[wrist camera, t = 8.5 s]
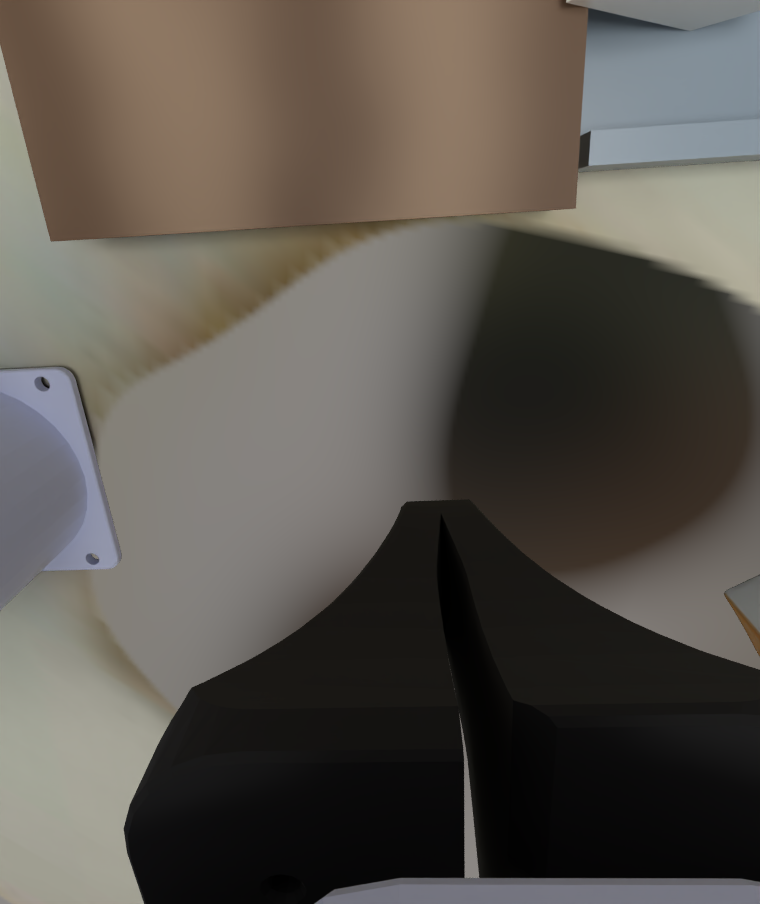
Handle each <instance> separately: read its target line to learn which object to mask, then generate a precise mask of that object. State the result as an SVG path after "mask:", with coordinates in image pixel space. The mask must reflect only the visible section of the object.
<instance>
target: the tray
mask: <svg viewBox="0 0 760 904" xmlns="http://www.w3.org/2000/svg"><path fill="white" fill-rule="evenodd" d="M755 160H760V11H757V12H753V13H750V14H746V15H743V16H740V17H736V18H733V19H729V20H726V21H723V22H719V23H716V24H712V25H709V26H706V27H702V28H699V29H695V30H692V31H688V30H683V29H679V28H675V27H670V26H666V25H661V24H657V23H653V22H648V21H644V20H640V19H635V18H631V17H626V16H622V15H618V14H613V13H609V12H605V11H600V10H596V9H591V8H588V22H587V38H586V53H585V69H584V85H583V100H582V116H581V132H580V147H579V163H578V172H589V171H604V170H619V169H634V168H649V167H664V166H679V165H694V164H709V163H725V162H740V161H755Z"/></svg>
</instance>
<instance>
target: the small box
mask: <svg viewBox="0 0 760 904" xmlns="http://www.w3.org/2000/svg"><path fill="white" fill-rule="evenodd" d="M724 595H725V597H726V599H727V600H728V602H729V603H730V605H731V607H732V608H733V610H734V611H735V613H736V615H737V616H738V618H739V620H740V622H741V623H742V625H743V627H744V629H745V630H746V632H747V634H748V636H749V638H750V640H751V641H752V643H753V645H754V647H755V649H756V651H757V653H758V654H759V656H760V575H758V576H756V577H754V578H752V579H749V580H747V581H745V582H743V583H741V584H739V585H737V586H735V587H732V588H731V589H728V590H727V591H725V593H724Z"/></svg>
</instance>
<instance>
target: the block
mask: <svg viewBox="0 0 760 904" xmlns="http://www.w3.org/2000/svg"><path fill="white" fill-rule="evenodd" d="M566 3H570V4H574V5H578V6H583V7H587V8H591V9H596V10H600V11H605V12H609V13H613V14H618V15H622V16H626V17H631V18H635V19H640V20H644V21H648V22H653V23H657V24H661V25H666V26H670V27H675V28H679V29H683V30H688V31H692V30H695V29H699V28H702V27H706V26H709V25H712V24H716V23H719V22H723V21H726V20H729V19H733V18H736V17H740V16H743V15H746V14H750V13H753V12H757V11H760V0H566Z"/></svg>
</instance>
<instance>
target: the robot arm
mask: <svg viewBox="0 0 760 904" xmlns="http://www.w3.org/2000/svg"><path fill="white" fill-rule="evenodd" d="M41 377H44V378H46V379H47V380H48V382H49V383H50V388H47V387H45V386H44V385H43V384H42V382H41ZM91 553H92V554H95V555H97V556H98V558H99V559H95V558H94V557H92V555H91ZM121 557H122V554H121V550H120V546H119V542H118V539H117V535H116V531H115V527H114V524H113V519H112V516H111V512H110V509H109V505H108V501H107V497H106V493H105V489H104V485H103V482H102V478H101V474H100V470H99V466H98V463H97V459H96V455H95V451H94V447H93V444H92V440H91V436H90V432H89V428H88V425H87V421H86V417H85V413H84V409H83V406H82V402H81V398H80V394H79V391H78V387H77V383H76V380H75V377H74V375H73V374H72V373H71V372H70V371H69V370H67V369H66V368H64V367H41V368H22V369H2V370H0V610H1V609H2V608H3V607H4V606H6V605H7V604H8V603H9V602H10V601H11V600H12V599H13V598H14V597H15V596H16V595H17V594H18V593H19V592H20V591H21V590H22V589H23V588H24V587H25V586H26V585H27V584H28V583H29V582H30V581H31V580H32V579H33V578H34V577H35V576H36V575H38V574H39V573H40V572H41V571H59V570H93V569H111V568H114V567H115V566H116V565H117V564H118V563H119V562H120V560H121ZM448 659H449V660H448ZM449 664H450V665H449ZM450 669H451V670H450ZM451 674H452V675H451ZM452 679H453V680H452ZM453 684H454V685H453ZM454 689H455V690H454ZM459 713H460V718H461V723H462V728H463V733H464V740H465V745H466V752H467V758H468V768H469V778H470V788H471V797H472V807H473V817H474V827H475V837H476V848H477V858H478V868H479V878H464V755H463V744H462V735H461V727H460V718H459ZM124 834H125V841H126V848H127V854H128V857H129V860H130V863H131V865H132V868H133V871H134V874H135V877H136V880H137V883H138V886H139V889H140V892H141V895H142V898H143V901H144V904H760V670H758V669H755V668H752V667H749V666H746V665H743V664H740V663H737V662H733V661H730V660H727V659H724V658H721V657H718V656H715V655H712V654H709V653H706V652H703V651H700V650H698V649H695V648H692V647H690V646H687V645H685V644H682V643H680V642H678V641H675V640H672V639H670V638H668V637H665V636H662V635H660V634H658V633H655V632H653V631H651V630H649V629H646V628H644V627H642V626H640V625H638V624H635V623H633V622H631V621H629V620H627V619H625V618H623V617H621V616H620V615H618V614H616V613H614V612H612V611H610V610H608V609H606V608H604V607H602V606H600V605H598V604H596V603H595V602H593V601H591V600H590V599H588V598H586V597H584V596H583V595H581V594H579V593H578V592H576V591H575V590H573V589H572V588H570V587H569V586H567V585H566V584H564V583H562V582H561V581H559V580H558V579H556V578H555V577H553V576H552V575H551V574H549V573H548V572H546V571H545V570H544V569H542V568H541V567H540V566H539V565H537V564H536V563H535V562H534V561H532V560H531V559H530V558H529V557H527V556H526V555H525V554H524V553H522V552H521V551H520V550H519V549H518V548H517V547H516V546H515V545H514V544H513V543H511V542H510V541H509V540H508V539H507V538H506V537H505V536H504V535H503V534H502V533H501V532H500V531H499V530H498V529H497V528H496V527H495V526H494V525H493V524H492V523H491V522H490V521H489V520H488V519H487V518H486V517H485V515H484V514H483V513H482V512H481V511H480V510H479V509H478V508H477V507H476V506H475V505H474V504H473V503H472V502H471V501H470V500H445V501H444V500H442V501H414V502H406V503H405V504H404V505H403V506H402V507H401V510H400V513H399V515H398V517H397V519H396V521H395V523H394V525H393V527H392V529H391V530H390V532H389V534H388V535H387V537H386V539H385V540H384V541H383V543H382V545H381V546H380V548H379V549H378V551H377V552H376V553H375V555H374V556H373V558H372V559H371V560H370V561H369V563H368V564H367V565H366V566H365V568H364V569H363V570H362V571H361V573H360V574H359V575H358V576H357V577H356V579H355V580H354V581H353V582H352V583H351V584H350V585H349V586H348V587H347V588H346V589H345V590H344V591H343V592H342V593H341V594H340V595H339V596H338V597H337V598H336V599H335V600H334V602H332V603H331V604H330V605H329V606H328V607H327V608H325V609H324V610H323V611H321V612H320V613H319V614H318V615H316V616H315V617H314V618H313V619H311V620H310V621H309V622H308V623H306V624H305V625H304V626H302V627H301V628H300V629H298V630H297V631H296V632H294V633H292V634H291V635H289V636H288V637H286V638H285V639H283V640H282V641H280V642H279V643H277V644H276V645H274V646H272V647H271V648H269V649H267V650H266V651H264V652H262V653H261V654H259V655H257V656H256V657H253V658H252V659H250V660H248V661H246V662H244V663H242V664H240V665H238V666H236V667H234V668H232V669H230V670H228V671H226V672H224V673H222V674H220V675H218V676H216V677H214V678H212V679H210V680H208V681H206V682H204V683H201V684H199V685H197V686H195V687H192V688H191V690H190V691H189V693H188V694H187V696H186V698H185V700H184V701H183V703H182V705H181V706H180V708H179V709H178V711H177V712H176V714H175V715H174V717H173V719H172V720H171V722H170V724H169V726H168V727H167V729H166V731H165V733H164V735H163V736H162V738H161V740H160V742H159V744H158V746H157V748H156V750H155V752H154V754H153V757H152V759H151V761H150V763H149V765H148V767H147V769H146V772H145V774H144V776H143V778H142V780H141V782H140V784H139V787H138V789H137V791H136V793H135V795H134V797H133V799H132V802H131V804H130V807H129V810H128V814H127V818H126V822H125V826H124Z"/></svg>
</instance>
